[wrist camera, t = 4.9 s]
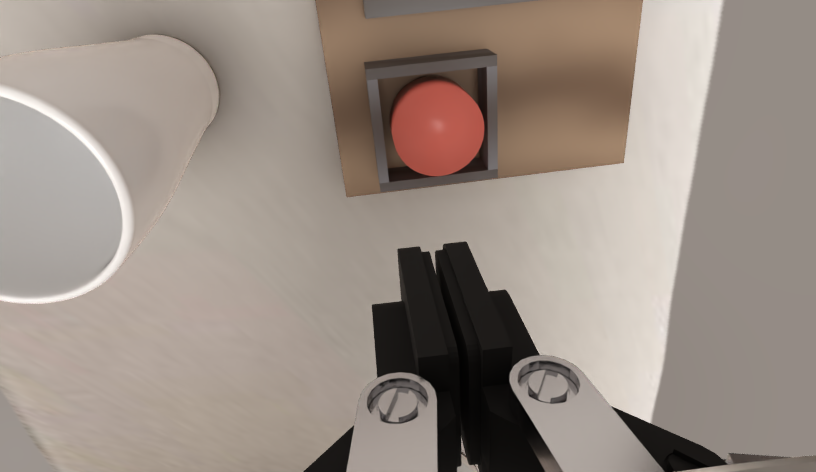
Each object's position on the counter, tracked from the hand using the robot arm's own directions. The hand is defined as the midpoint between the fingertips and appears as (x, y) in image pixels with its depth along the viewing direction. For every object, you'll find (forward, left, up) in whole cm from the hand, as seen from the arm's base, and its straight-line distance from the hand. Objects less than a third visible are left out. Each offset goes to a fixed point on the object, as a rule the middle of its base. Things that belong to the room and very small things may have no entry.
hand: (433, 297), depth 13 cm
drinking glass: (-3, +11, -19) cm, 22 cm away
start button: (+1, -2, -16) cm, 16 cm away
